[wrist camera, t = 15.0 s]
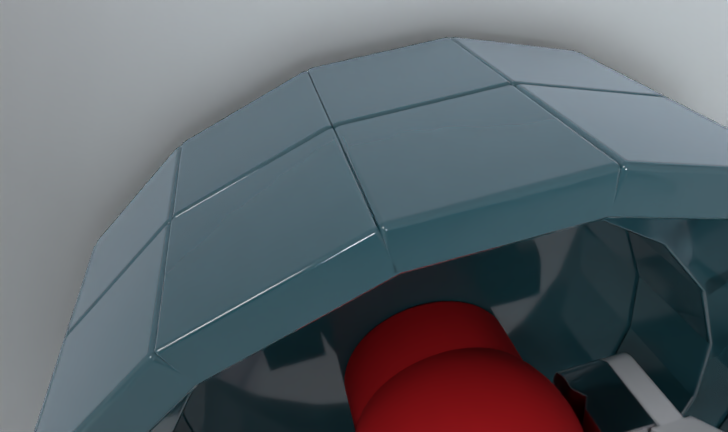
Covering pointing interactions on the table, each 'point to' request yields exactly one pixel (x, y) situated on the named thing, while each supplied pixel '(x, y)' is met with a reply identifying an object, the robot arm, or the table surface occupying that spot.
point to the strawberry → (449, 377)
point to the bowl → (405, 240)
